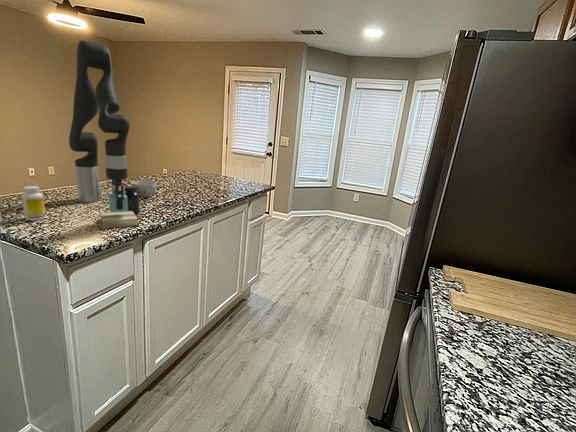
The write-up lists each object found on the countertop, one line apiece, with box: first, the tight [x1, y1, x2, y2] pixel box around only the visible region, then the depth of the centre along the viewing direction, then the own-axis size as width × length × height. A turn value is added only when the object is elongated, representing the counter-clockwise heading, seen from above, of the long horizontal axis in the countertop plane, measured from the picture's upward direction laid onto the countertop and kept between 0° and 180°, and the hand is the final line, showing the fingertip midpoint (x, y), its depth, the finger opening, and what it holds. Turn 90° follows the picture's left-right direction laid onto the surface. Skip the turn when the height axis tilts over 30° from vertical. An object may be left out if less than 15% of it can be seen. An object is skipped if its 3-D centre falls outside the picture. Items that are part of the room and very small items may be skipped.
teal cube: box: [108, 193, 128, 212], centre depth 127 cm, size 6×6×6 cm
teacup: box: [131, 179, 157, 198], centre depth 172 cm, size 15×12×8 cm
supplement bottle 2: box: [124, 185, 141, 215], centre depth 143 cm, size 7×7×12 cm
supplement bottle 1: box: [21, 185, 47, 222], centre depth 122 cm, size 7×7×13 cm
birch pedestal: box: [100, 211, 139, 229], centre depth 129 cm, size 12×12×3 cm
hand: (118, 207), depth 128 cm, fingers closed on teal cube, 6 cm apart
